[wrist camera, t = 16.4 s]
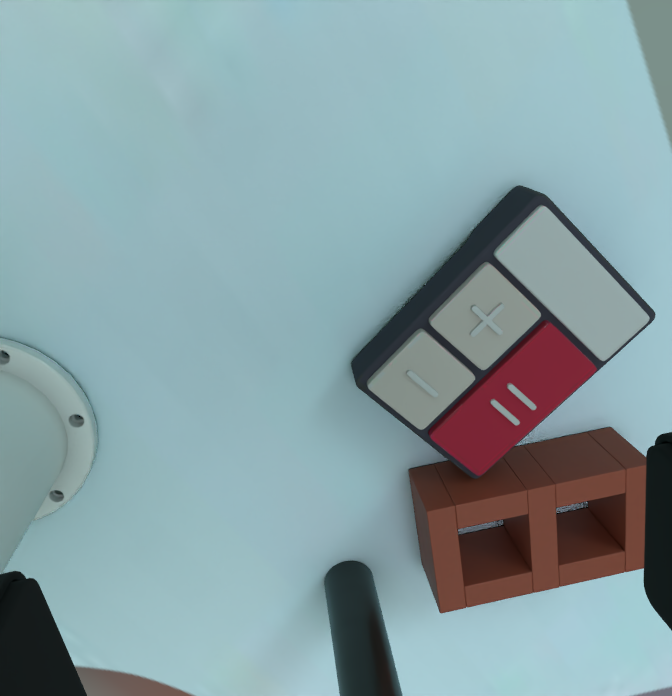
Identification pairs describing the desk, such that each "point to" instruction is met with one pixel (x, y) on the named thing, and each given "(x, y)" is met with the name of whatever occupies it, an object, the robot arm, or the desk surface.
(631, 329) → the calculator
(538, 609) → the desk surface
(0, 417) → the robot arm
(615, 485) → the hollow brick
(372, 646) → the peg
